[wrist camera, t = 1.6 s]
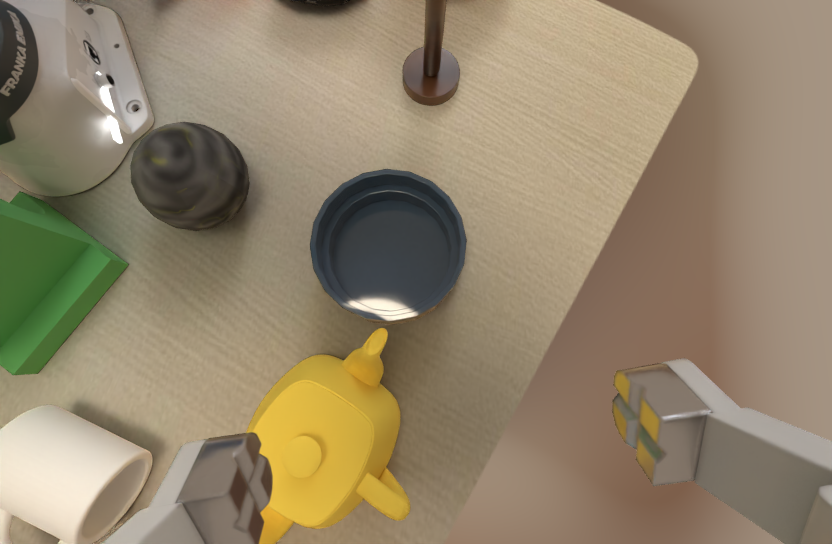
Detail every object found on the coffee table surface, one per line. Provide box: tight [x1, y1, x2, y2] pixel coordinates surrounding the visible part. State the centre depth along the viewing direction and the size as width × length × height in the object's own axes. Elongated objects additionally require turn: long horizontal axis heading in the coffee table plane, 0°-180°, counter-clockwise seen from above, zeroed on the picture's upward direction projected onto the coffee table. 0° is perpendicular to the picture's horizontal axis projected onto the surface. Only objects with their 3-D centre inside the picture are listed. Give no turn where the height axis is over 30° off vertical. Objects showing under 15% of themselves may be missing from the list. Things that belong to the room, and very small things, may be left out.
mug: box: [0, 405, 153, 544], centre depth 37 cm, size 12×10×8 cm
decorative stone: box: [130, 122, 250, 231], centre depth 41 cm, size 10×10×10 cm
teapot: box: [246, 328, 410, 544], centre depth 37 cm, size 22×16×11 cm
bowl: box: [310, 169, 467, 325], centre depth 42 cm, size 14×14×6 cm
